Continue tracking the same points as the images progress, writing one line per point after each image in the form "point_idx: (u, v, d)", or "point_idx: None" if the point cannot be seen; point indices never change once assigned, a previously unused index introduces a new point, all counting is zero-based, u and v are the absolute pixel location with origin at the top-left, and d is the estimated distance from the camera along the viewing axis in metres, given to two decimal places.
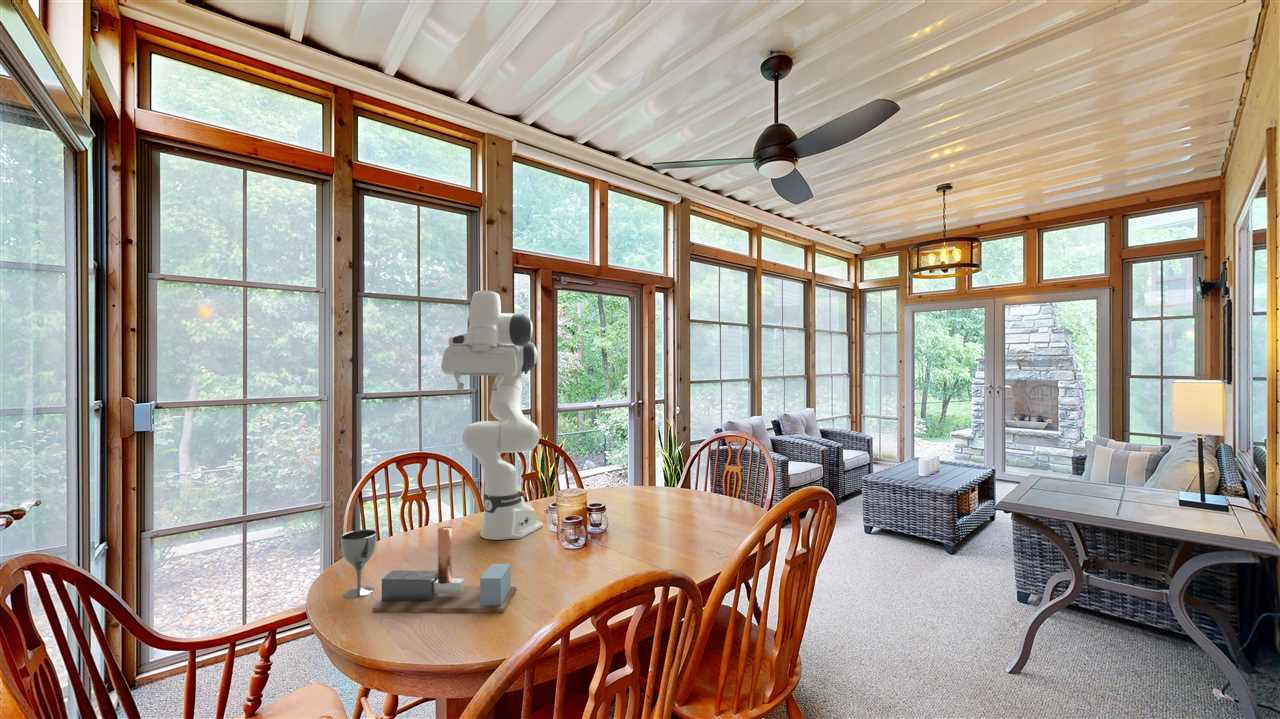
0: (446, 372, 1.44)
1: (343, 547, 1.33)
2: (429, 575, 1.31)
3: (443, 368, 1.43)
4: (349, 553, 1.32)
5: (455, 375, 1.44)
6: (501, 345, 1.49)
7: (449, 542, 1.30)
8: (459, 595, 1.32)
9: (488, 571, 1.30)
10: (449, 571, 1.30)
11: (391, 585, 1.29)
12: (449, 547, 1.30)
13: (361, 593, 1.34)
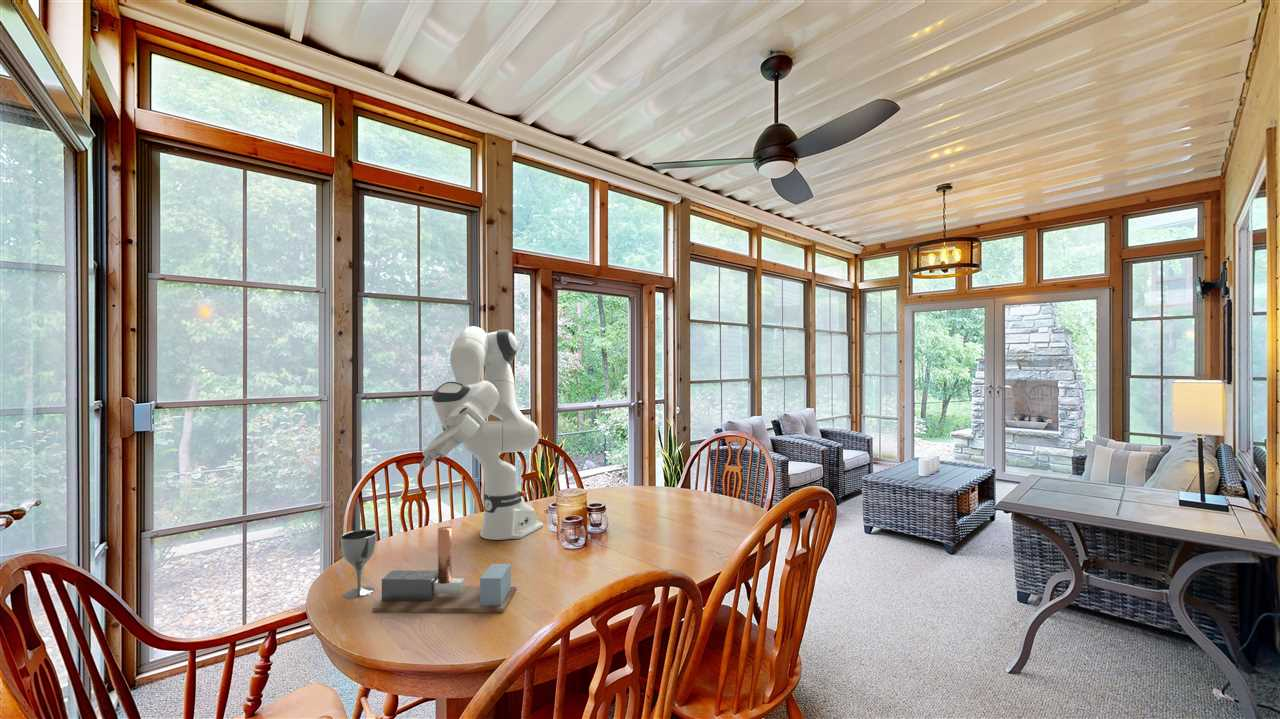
0: (461, 439, 1.35)
1: (343, 547, 1.33)
2: (429, 575, 1.31)
3: (467, 439, 1.35)
4: (349, 553, 1.32)
5: (455, 445, 1.36)
6: None
7: (449, 542, 1.30)
8: (459, 595, 1.32)
9: (488, 571, 1.30)
10: (449, 571, 1.30)
11: (391, 585, 1.29)
12: (449, 547, 1.30)
13: (361, 593, 1.34)
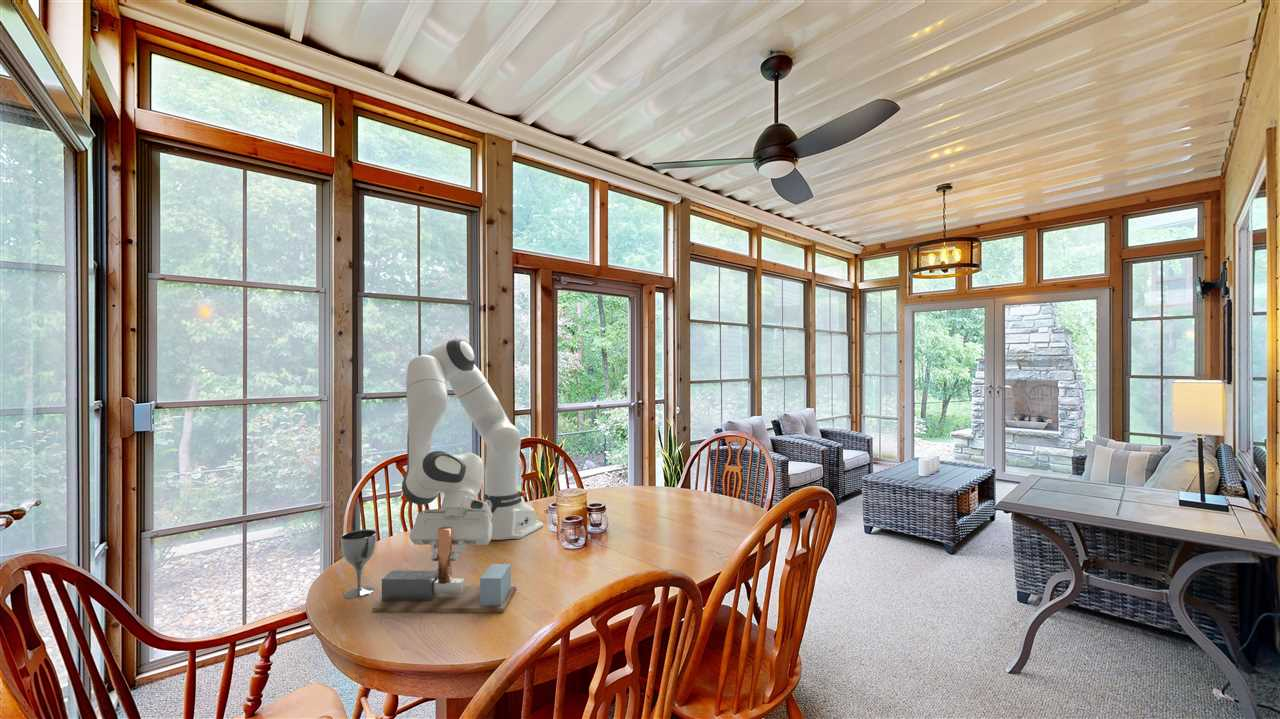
0: (483, 543, 1.34)
1: (343, 547, 1.33)
2: (429, 575, 1.31)
3: None
4: (349, 553, 1.32)
5: None
6: None
7: (449, 542, 1.30)
8: (459, 595, 1.32)
9: (488, 571, 1.30)
10: (449, 571, 1.30)
11: (391, 585, 1.29)
12: (449, 547, 1.30)
13: (361, 593, 1.34)
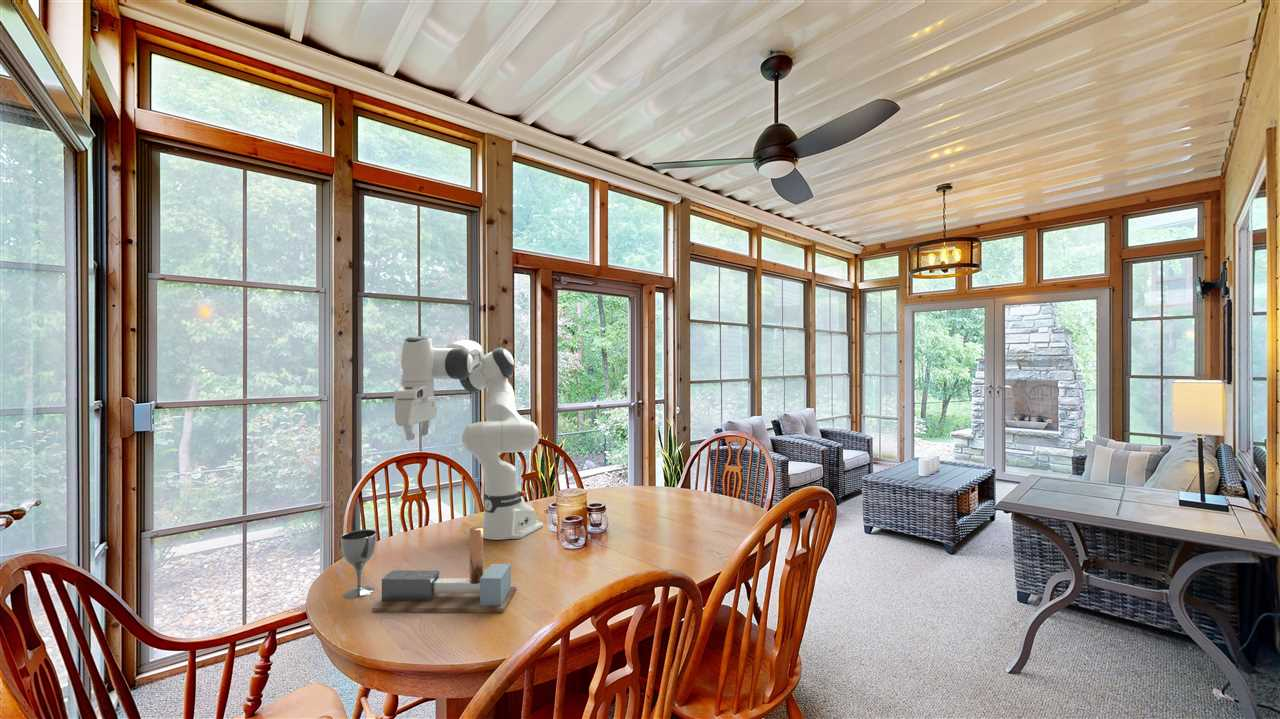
0: (406, 425, 1.47)
1: (343, 547, 1.33)
2: (429, 575, 1.31)
3: (409, 423, 1.46)
4: (349, 553, 1.32)
5: (411, 427, 1.49)
6: None
7: (481, 542, 1.30)
8: (459, 595, 1.32)
9: (488, 571, 1.30)
10: (481, 571, 1.30)
11: (391, 585, 1.29)
12: (481, 547, 1.30)
13: (361, 593, 1.34)
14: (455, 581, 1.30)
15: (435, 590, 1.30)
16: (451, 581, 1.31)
